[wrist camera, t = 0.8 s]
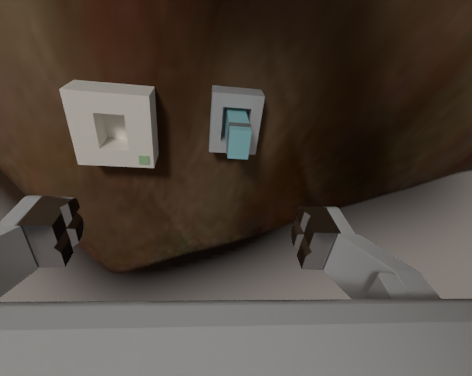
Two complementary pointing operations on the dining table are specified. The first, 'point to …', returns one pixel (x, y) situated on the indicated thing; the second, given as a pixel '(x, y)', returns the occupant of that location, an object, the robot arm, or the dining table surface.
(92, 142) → the port block
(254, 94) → the holster
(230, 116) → the plug
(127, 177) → the dining table surface
